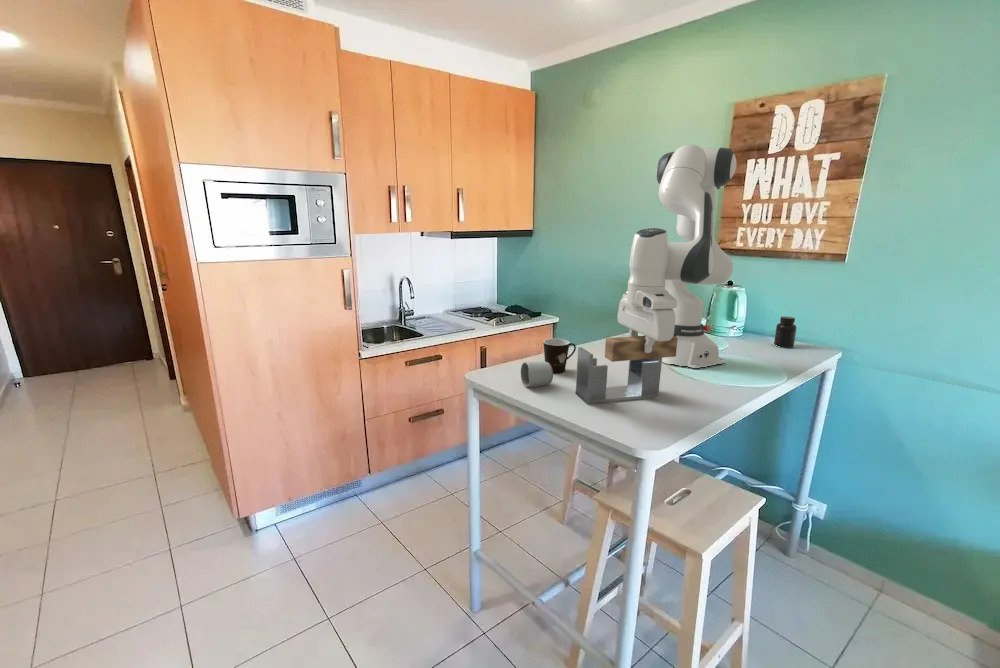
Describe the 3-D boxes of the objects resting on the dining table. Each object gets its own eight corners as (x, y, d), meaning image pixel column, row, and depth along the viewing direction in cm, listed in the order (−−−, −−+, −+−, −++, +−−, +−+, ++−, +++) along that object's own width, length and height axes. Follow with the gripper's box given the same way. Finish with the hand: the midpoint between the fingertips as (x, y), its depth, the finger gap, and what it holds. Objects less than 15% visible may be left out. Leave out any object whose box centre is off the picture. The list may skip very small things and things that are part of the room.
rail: (666, 352, 115) (668, 334, 114) (675, 356, 111) (677, 337, 110) (604, 356, 111) (605, 338, 110) (612, 361, 107) (613, 342, 106)
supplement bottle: (787, 344, 178) (792, 315, 175) (796, 348, 171) (802, 319, 168) (770, 343, 179) (774, 315, 176) (778, 348, 172) (783, 319, 169)
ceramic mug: (554, 387, 129) (555, 363, 128) (529, 391, 127) (529, 366, 125) (539, 376, 139) (539, 353, 137) (515, 379, 136) (516, 356, 135)
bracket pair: (643, 387, 130) (647, 342, 126) (658, 397, 122) (663, 350, 119) (575, 393, 125) (577, 347, 121) (587, 404, 117) (590, 355, 114)
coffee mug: (544, 375, 140) (545, 345, 138) (540, 366, 148) (541, 338, 146) (579, 374, 140) (581, 345, 138) (574, 366, 149) (575, 338, 146)
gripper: (613, 290, 116) (610, 339, 120) (658, 303, 97) (652, 362, 100) (634, 289, 117) (630, 337, 121) (682, 302, 98) (676, 360, 102)
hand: (640, 349), depth 111 cm, fingers closed on rail, 4 cm apart
